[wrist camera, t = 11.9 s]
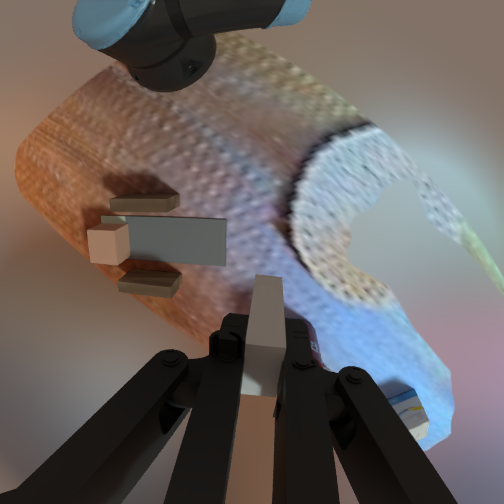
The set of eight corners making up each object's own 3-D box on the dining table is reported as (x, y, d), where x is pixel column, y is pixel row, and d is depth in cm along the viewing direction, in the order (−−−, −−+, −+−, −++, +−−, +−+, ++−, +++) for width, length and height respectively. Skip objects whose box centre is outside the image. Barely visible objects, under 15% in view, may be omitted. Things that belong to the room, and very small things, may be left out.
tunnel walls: (127, 193, 45) (109, 199, 40) (179, 193, 45) (166, 198, 39) (133, 278, 50) (119, 291, 45) (181, 283, 50) (171, 298, 44)
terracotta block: (101, 223, 47) (86, 229, 42) (128, 223, 47) (114, 230, 42) (104, 253, 49) (90, 262, 44) (130, 255, 49) (117, 265, 44)
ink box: (384, 400, 57) (396, 434, 46) (414, 388, 55) (430, 420, 44) (385, 417, 59) (396, 449, 48) (414, 406, 58) (427, 437, 47)
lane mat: (101, 215, 47) (100, 215, 47) (226, 219, 46) (226, 219, 45) (105, 256, 49) (104, 256, 49) (225, 265, 48) (225, 266, 48)
